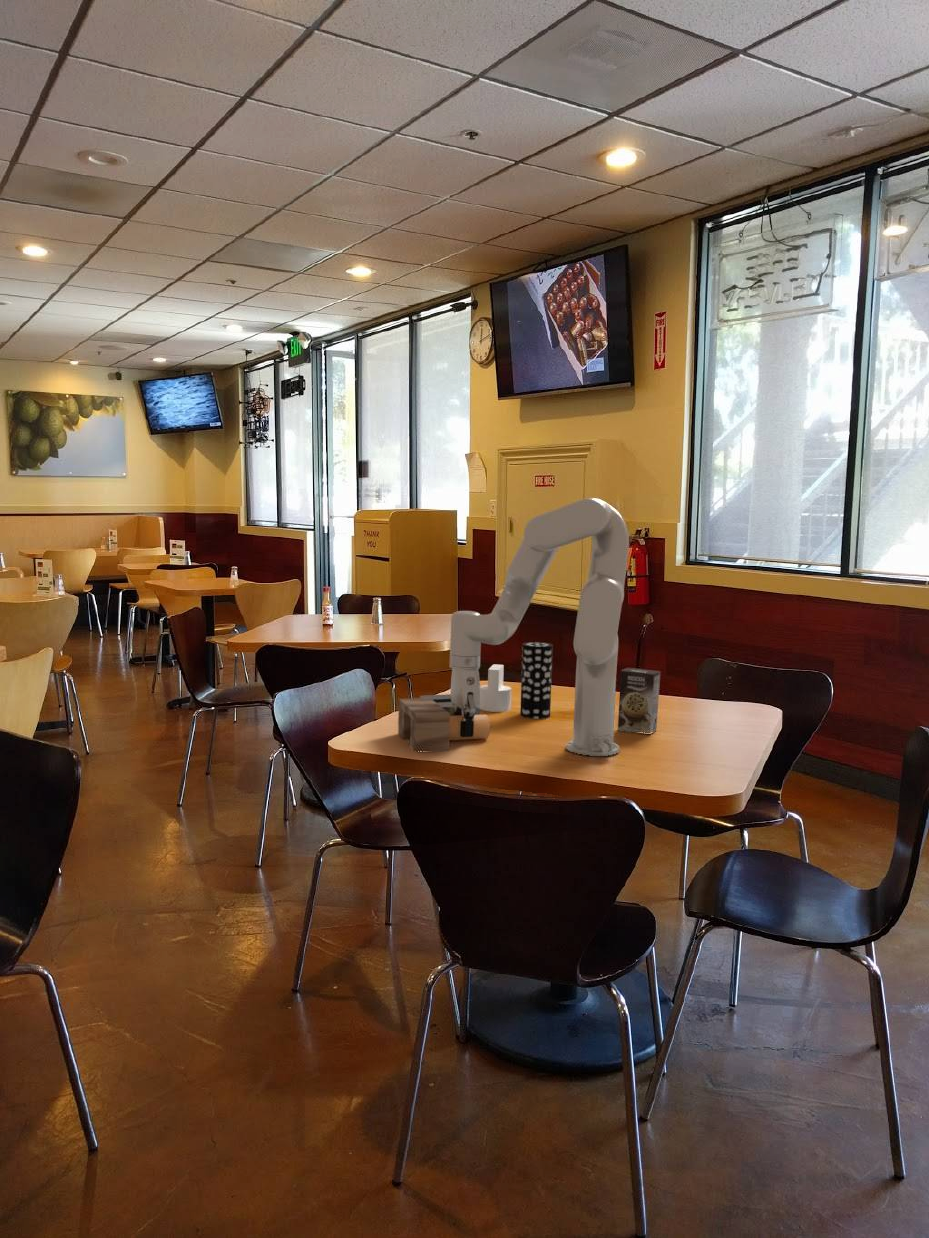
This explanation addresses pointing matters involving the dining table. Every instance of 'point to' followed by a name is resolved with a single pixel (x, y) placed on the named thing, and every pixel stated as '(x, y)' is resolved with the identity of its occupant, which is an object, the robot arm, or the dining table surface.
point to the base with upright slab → (495, 691)
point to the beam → (424, 724)
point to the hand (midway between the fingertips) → (462, 732)
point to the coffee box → (638, 700)
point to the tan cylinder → (479, 727)
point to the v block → (446, 702)
